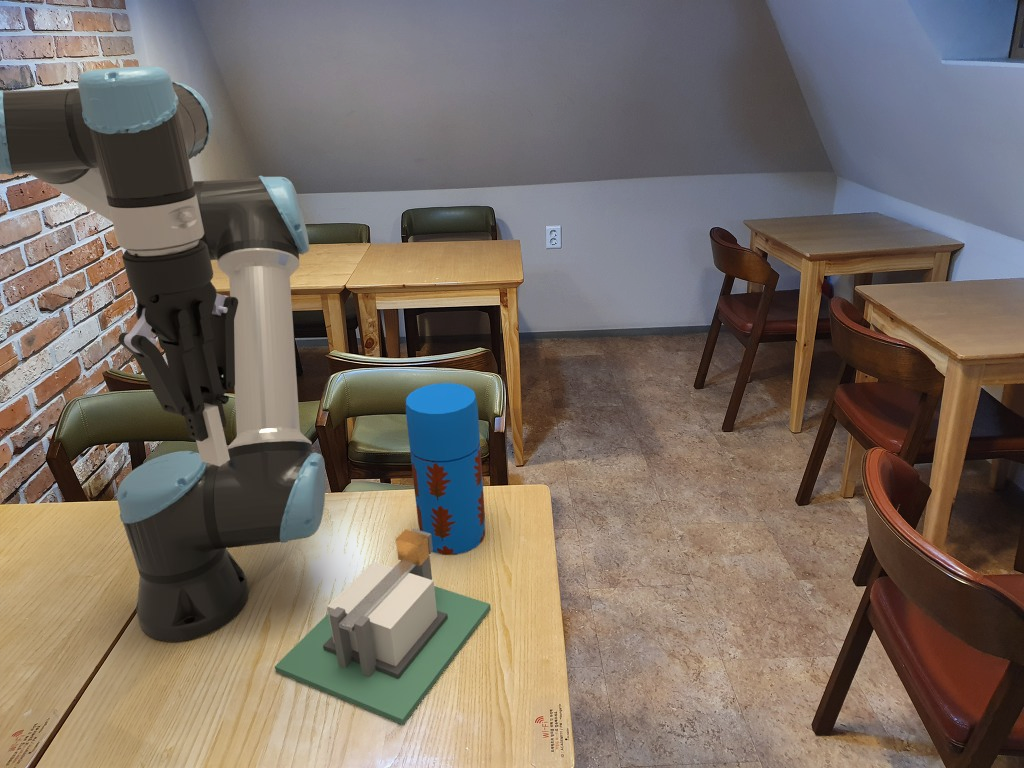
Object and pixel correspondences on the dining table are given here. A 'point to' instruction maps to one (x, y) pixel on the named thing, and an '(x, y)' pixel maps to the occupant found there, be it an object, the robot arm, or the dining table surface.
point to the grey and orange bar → (391, 575)
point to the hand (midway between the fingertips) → (215, 460)
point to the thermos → (447, 466)
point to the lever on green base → (386, 642)
